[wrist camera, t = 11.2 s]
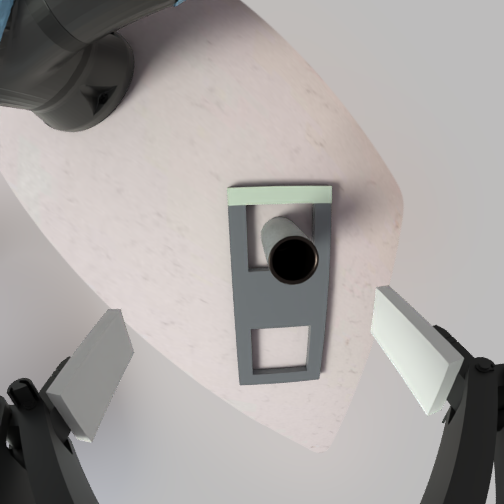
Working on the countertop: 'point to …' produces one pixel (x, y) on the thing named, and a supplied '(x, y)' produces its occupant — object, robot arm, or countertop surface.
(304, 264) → the grey hollow cylinder
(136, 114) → the countertop surface
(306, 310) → the panel
